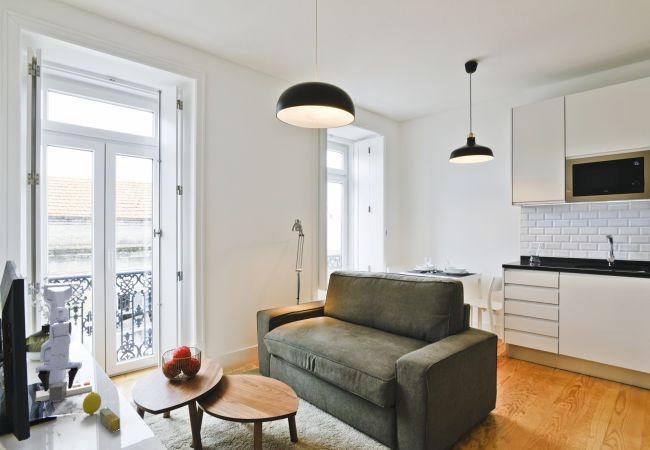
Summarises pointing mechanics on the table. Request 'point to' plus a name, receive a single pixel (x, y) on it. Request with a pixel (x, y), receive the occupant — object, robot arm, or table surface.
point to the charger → (57, 391)
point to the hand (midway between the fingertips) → (58, 389)
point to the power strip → (74, 389)
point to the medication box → (109, 419)
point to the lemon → (91, 403)
